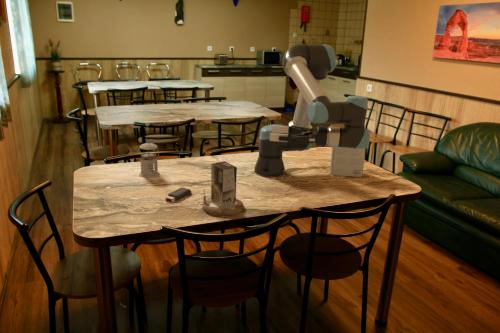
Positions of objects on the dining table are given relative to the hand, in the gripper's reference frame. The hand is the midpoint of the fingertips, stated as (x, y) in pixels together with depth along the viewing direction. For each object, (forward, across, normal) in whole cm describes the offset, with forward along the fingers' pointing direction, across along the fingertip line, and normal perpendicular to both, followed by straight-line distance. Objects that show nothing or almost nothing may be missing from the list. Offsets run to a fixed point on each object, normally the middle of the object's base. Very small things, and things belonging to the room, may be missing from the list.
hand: (270, 132), depth 156 cm
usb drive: (+37, 0, -30) cm, 48 cm away
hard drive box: (-37, +46, -30) cm, 66 cm away
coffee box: (+17, -7, -28) cm, 34 cm away
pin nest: (+17, -7, -30) cm, 35 cm away
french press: (+57, +25, -30) cm, 69 cm away
